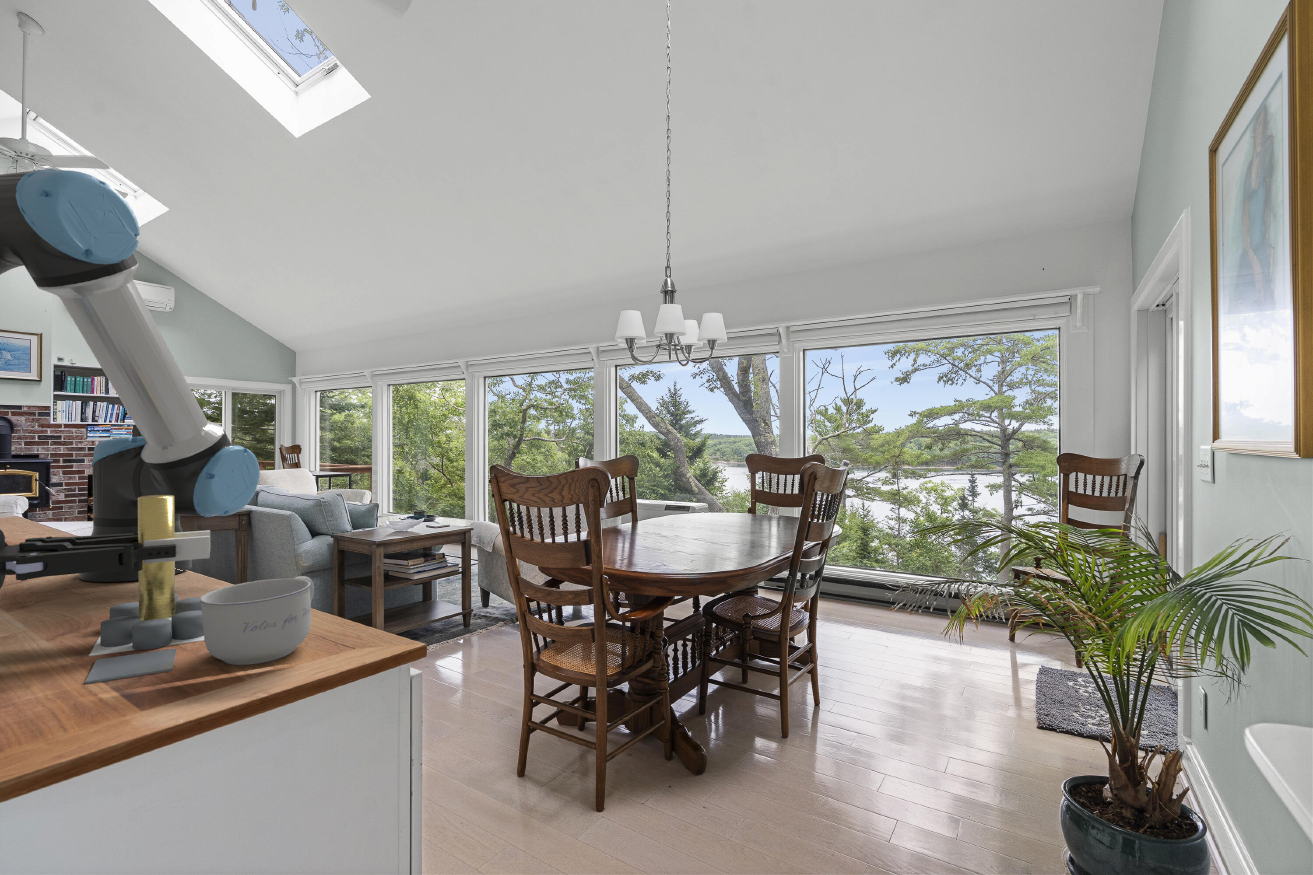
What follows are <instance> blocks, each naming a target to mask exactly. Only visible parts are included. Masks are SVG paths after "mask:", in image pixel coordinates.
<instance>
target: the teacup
mask: <svg viewBox="0 0 1313 875" xmlns="http://www.w3.org/2000/svg"><path fill="white" fill-rule="evenodd" d="M314 594H315V586H314V583H313V580H312V579H311V578H310V577H308V576H306V575H305V576H304V575H303V576H302V575H300V576H298V575H297V576H295V577H294V578H271V579H261V580H254V581H247V582H243V583H237V584H233V585H227V586H223V587H220V588H217V589H214V590H210V591H209V592H206V593H205V594H203V595H201V596H200V597H201V598H200V603H201V605H202V619H203V632H204V639H205V640H204V643H205V644H204V645H205V647H206V650H207V651H208V652H209V654H210V655H211V656H212V657H215V658H216V659H218V660H220V661H223V662H224V663H226V664H228V665H229V664H230V665H233V666H235V665H236V666H246V665H258V664H264V663H269V662H274V661H277V660H279V659H282V658H285V657H287V656H289V655H291V654H292V653H293V652H294V651H295V650H296V649H297V647H298V646H300V644H302V643H303V642H304V641H305V639H306V638H307V637H308V635H309V633H310V628H311V625H312V624H311V621H312V608H311V605H312V604H311V602H312V600H313V598H314Z"/></svg>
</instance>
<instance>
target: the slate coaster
mask: <svg viewBox="0 0 1313 875" xmlns="http://www.w3.org/2000/svg"><path fill="white" fill-rule="evenodd" d="M177 649H178V648H169V649H164V650H156V651H149V652H142V653H134V654H127V655H121V656H112V657H105V658H98V659H96V660H95V662H94V664H93V666H92V668H91V669H90V672H89V673H88V676H87V677H86V679H85V680H84V685H89V684H96V683H102V682H108V681H116V680H123V679H129V678H135V677H141V676H142V677H143V676H149V675H153V674H160V673H166V672H167V673H168V672H172V671H173V668H174V665H175V660H176V654H177Z"/></svg>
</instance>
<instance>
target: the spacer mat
mask: <svg viewBox="0 0 1313 875" xmlns="http://www.w3.org/2000/svg"><path fill="white" fill-rule="evenodd" d="M201 597H202V596H195V597H188V598H183V599H179V594H178V593H175V615H173V616H172V617H170V618H166V619H153V620H147V621H141V620H140V617H139V601H133V602H131V601H130V602H124V603H119V604H115V605H112V606H110V607H109V619H108V618H107V619H105V620H103V621H101V622H100V624H99V625H100V628H99V629H100V635H99V637H98V639H97V641H96V642H95V644H94V646H93V647H92V649H91V651H90V653H89V654H88V657H93V656H100V655H108V654H115V653H121V652H128V651H129V652H130V651H148V650H154V649H160V648H163V647H166V646H167V647H168V646H175V645H181V644H189V643H196V642H203V641H204V642H205V639H204V632H203V619H202V605H201V603H200V598H201Z"/></svg>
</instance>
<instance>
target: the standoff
mask: <svg viewBox="0 0 1313 875" xmlns="http://www.w3.org/2000/svg"><path fill="white" fill-rule="evenodd" d="M170 538H175V520H174V496H173V495H152V496H142V497H138V542H139V543H142V547H144V540H157V539H170ZM138 577H139V580H138V602H139V617H140V620H141V621H147V620H153V619H166V618H170V617H172V616H173V615H175V594H176V574H175V561H170V562H158V563H147V564H144V560H143V570H141V571H138Z"/></svg>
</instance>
